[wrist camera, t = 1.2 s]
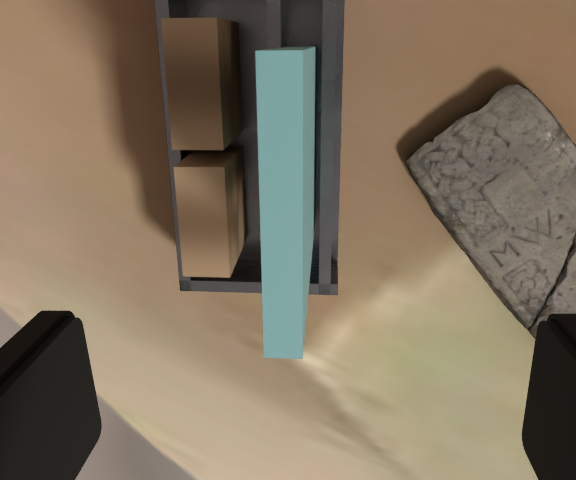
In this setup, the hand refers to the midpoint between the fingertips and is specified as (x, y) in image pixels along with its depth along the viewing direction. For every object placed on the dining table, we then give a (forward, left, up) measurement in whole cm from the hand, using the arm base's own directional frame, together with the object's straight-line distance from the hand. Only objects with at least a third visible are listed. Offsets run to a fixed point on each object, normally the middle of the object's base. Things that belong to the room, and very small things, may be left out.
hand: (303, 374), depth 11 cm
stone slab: (+10, +19, -29) cm, 36 cm away
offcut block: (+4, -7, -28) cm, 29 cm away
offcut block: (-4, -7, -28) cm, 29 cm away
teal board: (0, -1, -28) cm, 28 cm away
